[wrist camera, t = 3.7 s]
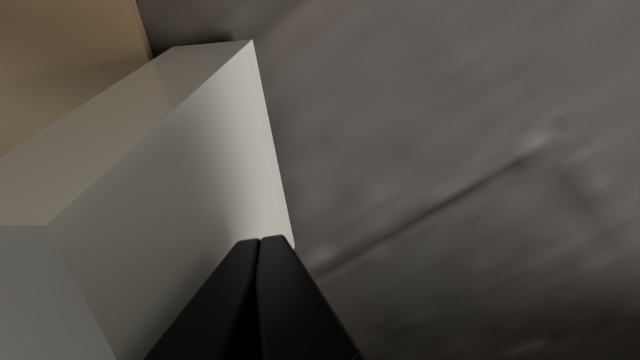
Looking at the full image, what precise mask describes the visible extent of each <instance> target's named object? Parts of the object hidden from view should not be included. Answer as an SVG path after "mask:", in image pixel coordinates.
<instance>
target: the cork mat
mask: <svg viewBox="0 0 640 360" xmlns="http://www.w3.org/2000/svg"><path fill="white" fill-rule="evenodd" d="M153 59H154V58H153V55H152V52H151V49H150V45H149V42H148V39H147V36H146V33H145V30H144V27H143V23H142V20H141V17H140V14H139V11H138V8H137V4H136V1H135V0H0V158H1V157H2V156H4V155H5V154H7V153H8V152H10V151H12V150H13V149H15V148H16V147H18V146H19V145H21V144H22V143H24V142H25V141H27V140H29V139H30V138H32V137H33V136H35V135H36V134H38V133H39V132H41V131H43V130H44V129H46V128H47V127H49V126H50V125H52V124H53V123H55V122H57V121H58V120H60V119H61V118H63V117H64V116H66V115H67V114H69V113H71V112H72V111H74V110H75V109H77V108H78V107H80V106H81V105H83V104H85V103H86V102H88V101H89V100H91V99H92V98H94V97H95V96H97V95H99V94H100V93H102V92H103V91H105V90H106V89H108V88H109V87H111V86H113V85H114V84H116V83H117V82H119V81H120V80H122V79H123V78H125V77H126V76H128V75H130V74H131V73H133V72H134V71H136V70H137V69H139V68H140V67H142V66H144V65H145V64H147V63H148V62H150V61H151V60H153Z"/></svg>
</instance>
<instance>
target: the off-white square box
mask: <svg viewBox="0 0 640 360" xmlns="http://www.w3.org/2000/svg"><path fill="white" fill-rule="evenodd" d="M279 234H282V235H284V236H285V237H286V239H287V240H288V242H289V243H290V245H291V246H292V248H293V250H294V247H295V245H294V240H293V235H292V230H291V225H290V221H289V216H288V211H287V206H286V201H285V196H284V191H283V186H282V182H281V177H280V172H279V167H278V162H277V157H276V152H275V147H274V143H273V138H272V133H271V128H270V123H269V118H268V113H267V108H266V104H265V99H264V94H263V89H262V84H261V79H260V74H259V69H258V64H257V60H256V55H255V50H254V45H253V40H241V41H230V42H219V43H208V44H197V45H186V46H175V47H172V48H170V49H168V50H167V51H165V52H164V53H162V54H161V55H159V56H158V57H156V58H154V59H153V60H151V61H150V62H148V63H147V64H145V65H144V66H142V67H140V68H139V69H137V70H136V71H134V72H133V73H131V74H130V75H128V76H126V77H125V78H123V79H122V80H120V81H119V82H117V83H116V84H114V85H113V86H111V87H109V88H108V89H106V90H105V91H103V92H102V93H100V94H99V95H97V96H95V97H94V98H92V99H91V100H89V101H88V102H86V103H85V104H83V105H81V106H80V107H78V108H77V109H75V110H74V111H72V112H71V113H69V114H67V115H66V116H64V117H63V118H61V119H60V120H58V121H57V122H55V123H53V124H52V125H50V126H49V127H47V128H46V129H44V130H43V131H41V132H39V133H38V134H36V135H35V136H33V137H32V138H30V139H29V140H27V141H25V142H24V143H22V144H21V145H19V146H18V147H16V148H15V149H13V150H12V151H10V152H8V153H7V154H5V155H4V156H2V157H1V158H0V360H143V358H144V357H145V356H146V355H147V353H148V352H149V351H150V350H151V348H152V347H153V346H154V345H155V343H156V342H157V341H158V340H159V338H160V337H161V336H162V335H163V333H164V332H165V331H166V330H167V328H168V327H169V326H170V325H171V323H172V322H173V321H174V320H175V318H176V317H177V316H178V315H179V313H180V312H181V311H182V310H183V308H184V307H185V306H186V305H187V303H188V302H189V301H190V300H191V298H192V297H193V296H194V295H195V293H196V292H197V291H198V290H199V288H200V287H201V286H202V285H203V283H204V282H205V281H206V280H207V278H208V277H209V276H210V275H211V273H212V272H213V271H214V270H215V268H216V267H217V266H218V265H219V263H220V262H221V261H222V260H223V258H224V257H225V256H226V255H227V253H228V252H229V251H230V250H231V248H232V247H233V246H234V245H235V243H236V242H238V241H240V240H245V239H252V238H259V239H260V240H261V239H262V238H263V237H266V236H272V235H279Z"/></svg>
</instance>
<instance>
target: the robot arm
mask: <svg viewBox="0 0 640 360" xmlns="http://www.w3.org/2000/svg"><path fill="white" fill-rule="evenodd" d="M143 360H366V359H365V357H364V356H363V354H362V353H360V352H359V349H358V347H357V346H356V344H355V343H354V341H353V340H352V338H351V336H350V335H349V333H348V332H347V330H346V329H345V327H344V326H343V324H342V323H341V321H340V320H339V318H338V317H337V315H336V314H335V312H334V311H333V309H332V307H331V306H330V304H329V303H328V301H327V300H326V298H325V297H324V295H323V294H322V292H321V291H320V289H319V288H318V286H317V285H316V283H315V282H314V280H313V278H312V277H311V275H310V274H309V272H308V271H307V269H306V268H305V266H304V265H303V263H302V262H301V260H300V259H299V257H298V256H297V254H296V253H295V251H294V250H293V248H292V246H291V245H290V243H289V242H288V240H287V239H286V237H285V236H284V235H282V234H279V235H272V236H266V237H263V238H262V239H261V240H260V239H259V238H252V239H245V240H240V241H238V242H236V243H235V245H234V246H233V247H232V248H231V250H230V251H229V252H228V253H227V255H226V256H225V257H224V258H223V260H222V261H221V262H220V263H219V265H218V266H217V267H216V268H215V270H214V271H213V272H212V273H211V275H210V276H209V277H208V278H207V280H206V281H205V282H204V283H203V285H202V286H201V287H200V288H199V290H198V291H197V292H196V293H195V295H194V296H193V297H192V298H191V300H190V301H189V302H188V303H187V305H186V306H185V307H184V308H183V310H182V311H181V312H180V313H179V315H178V316H177V317H176V318H175V320H174V321H173V322H172V323H171V325H170V326H169V327H168V328H167V330H166V331H165V332H164V333H163V335H162V336H161V337H160V338H159V340H158V341H157V342H156V343H155V345H154V346H153V347H152V348H151V350H150V351H149V352H148V353H147V355H146V356H145V357H144V358H143Z"/></svg>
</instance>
